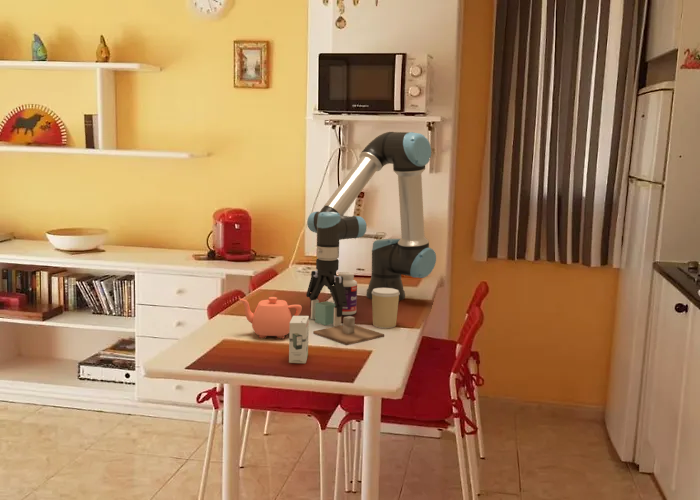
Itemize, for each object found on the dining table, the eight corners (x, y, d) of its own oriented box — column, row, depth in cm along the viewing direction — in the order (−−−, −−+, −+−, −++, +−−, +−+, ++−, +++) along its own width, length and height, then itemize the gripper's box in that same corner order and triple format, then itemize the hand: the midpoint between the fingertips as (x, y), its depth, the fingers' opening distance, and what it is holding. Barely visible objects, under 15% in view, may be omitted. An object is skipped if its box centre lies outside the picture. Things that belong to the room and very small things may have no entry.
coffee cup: (401, 323, 258) (402, 289, 256) (393, 330, 249) (395, 294, 247) (375, 320, 261) (376, 286, 259) (366, 326, 252) (368, 291, 250)
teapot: (240, 328, 246) (241, 291, 244) (302, 329, 246) (303, 293, 244) (235, 340, 232) (235, 301, 230) (300, 341, 233) (301, 303, 231)
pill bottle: (353, 316, 265) (355, 276, 262) (331, 315, 266) (332, 275, 264) (358, 311, 273) (359, 272, 270) (336, 309, 274) (337, 270, 272)
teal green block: (326, 319, 259) (327, 301, 258) (336, 323, 256) (337, 304, 255) (315, 322, 256) (315, 303, 255) (324, 325, 252) (325, 306, 251)
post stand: (350, 325, 253) (350, 309, 252) (383, 336, 241) (384, 318, 240) (313, 333, 242) (313, 315, 241) (346, 345, 230) (346, 326, 229)
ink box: (291, 353, 220) (292, 314, 218) (308, 354, 220) (309, 315, 218) (288, 363, 211) (288, 322, 210) (305, 363, 211) (306, 322, 209)
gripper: (296, 254, 258) (295, 316, 262) (342, 265, 241) (340, 331, 245) (313, 252, 263) (312, 313, 267) (359, 262, 246) (357, 327, 250)
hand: (325, 322), depth 256 cm, fingers open, 11 cm apart
